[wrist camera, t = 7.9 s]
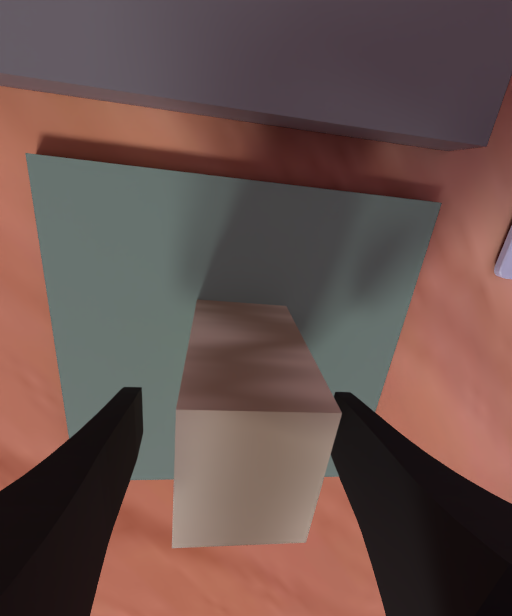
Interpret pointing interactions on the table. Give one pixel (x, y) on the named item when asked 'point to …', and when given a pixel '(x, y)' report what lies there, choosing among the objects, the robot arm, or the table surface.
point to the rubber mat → (213, 279)
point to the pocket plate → (276, 61)
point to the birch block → (249, 429)
